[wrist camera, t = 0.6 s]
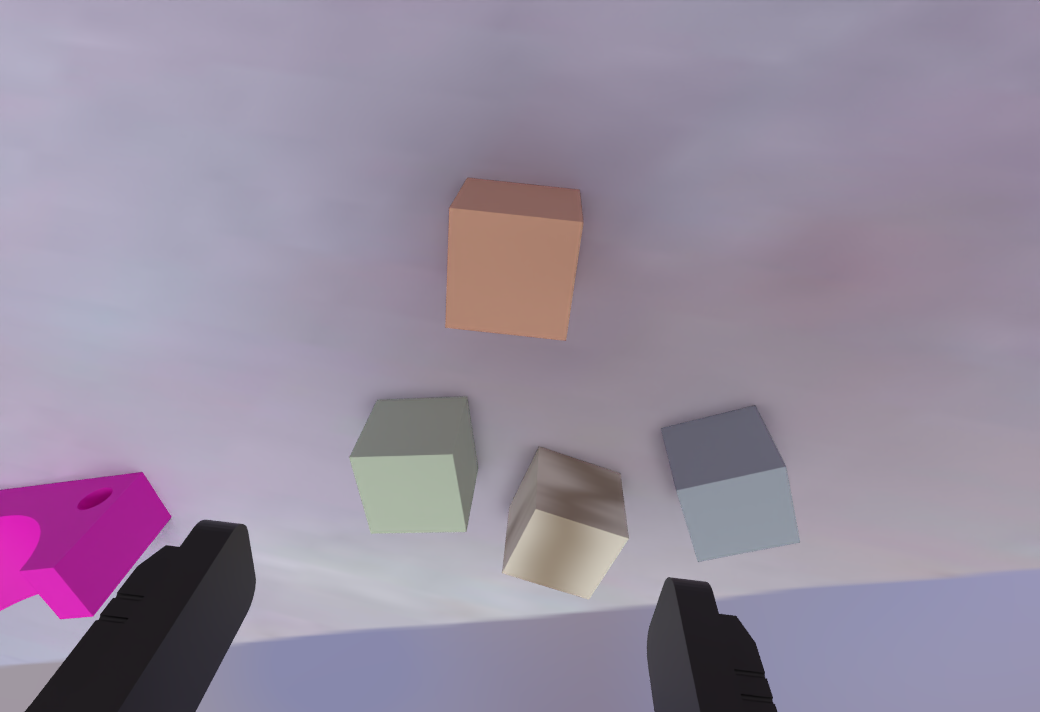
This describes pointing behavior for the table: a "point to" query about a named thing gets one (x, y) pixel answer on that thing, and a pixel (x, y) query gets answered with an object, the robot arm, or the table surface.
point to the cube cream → (565, 524)
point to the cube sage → (416, 465)
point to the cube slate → (731, 484)
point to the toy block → (75, 540)
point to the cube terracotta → (512, 258)
